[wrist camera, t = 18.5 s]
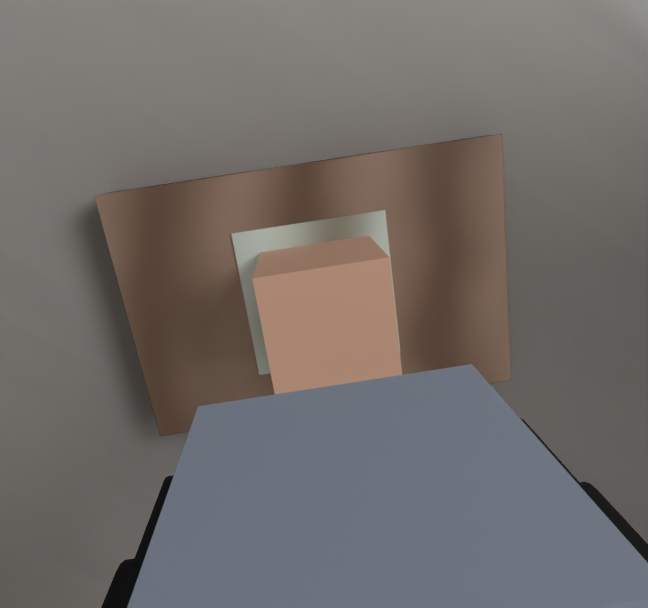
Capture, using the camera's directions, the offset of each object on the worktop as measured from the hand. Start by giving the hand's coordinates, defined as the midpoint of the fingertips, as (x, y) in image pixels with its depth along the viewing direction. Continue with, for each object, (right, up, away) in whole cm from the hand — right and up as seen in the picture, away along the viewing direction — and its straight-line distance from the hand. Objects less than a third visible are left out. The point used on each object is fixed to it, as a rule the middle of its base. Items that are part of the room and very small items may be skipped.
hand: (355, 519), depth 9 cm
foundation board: (-1, +5, +16) cm, 17 cm away
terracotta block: (-1, +4, +14) cm, 15 cm away
